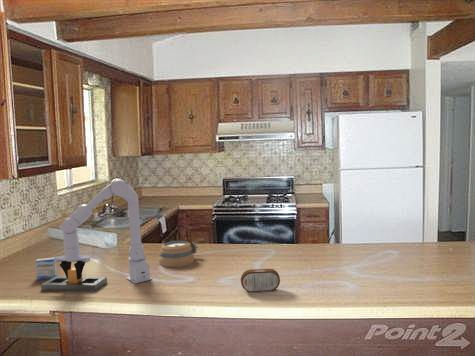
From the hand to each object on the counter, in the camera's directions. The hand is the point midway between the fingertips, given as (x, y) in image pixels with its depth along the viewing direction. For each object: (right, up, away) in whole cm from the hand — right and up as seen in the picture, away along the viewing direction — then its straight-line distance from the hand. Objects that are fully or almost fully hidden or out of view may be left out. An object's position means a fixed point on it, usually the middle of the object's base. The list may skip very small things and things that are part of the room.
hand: (74, 278), depth 171 cm
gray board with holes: (0, -3, 0) cm, 3 cm away
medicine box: (-18, -3, +14) cm, 23 cm away
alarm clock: (+40, +1, +32) cm, 51 cm away
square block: (0, -3, +1) cm, 3 cm away
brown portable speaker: (+77, -2, -14) cm, 79 cm away
